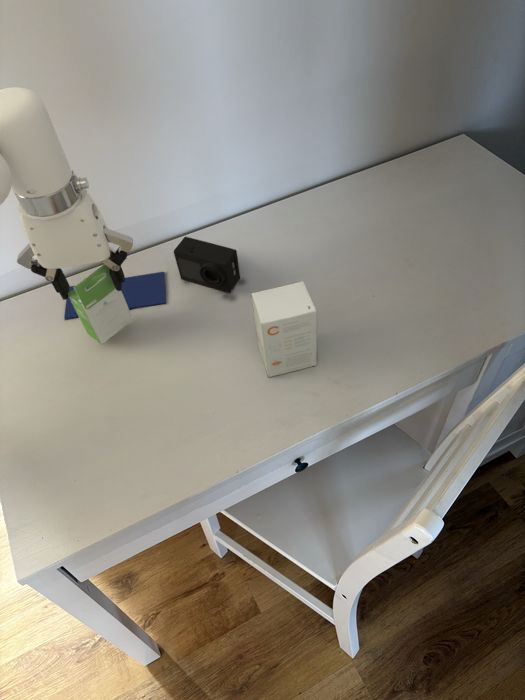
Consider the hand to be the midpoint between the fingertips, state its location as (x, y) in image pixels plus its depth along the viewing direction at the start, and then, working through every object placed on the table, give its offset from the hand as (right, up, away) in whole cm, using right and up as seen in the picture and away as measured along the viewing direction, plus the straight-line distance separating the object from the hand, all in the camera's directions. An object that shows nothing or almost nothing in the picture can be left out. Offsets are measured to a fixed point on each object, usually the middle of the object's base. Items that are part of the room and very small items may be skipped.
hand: (93, 288), depth 82 cm
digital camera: (+16, +3, +16) cm, 23 cm away
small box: (+30, -11, +4) cm, 32 cm away
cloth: (0, 0, +15) cm, 15 cm away
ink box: (+1, -6, +8) cm, 9 cm away
